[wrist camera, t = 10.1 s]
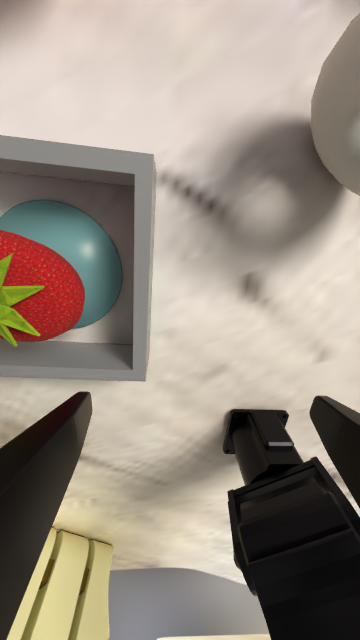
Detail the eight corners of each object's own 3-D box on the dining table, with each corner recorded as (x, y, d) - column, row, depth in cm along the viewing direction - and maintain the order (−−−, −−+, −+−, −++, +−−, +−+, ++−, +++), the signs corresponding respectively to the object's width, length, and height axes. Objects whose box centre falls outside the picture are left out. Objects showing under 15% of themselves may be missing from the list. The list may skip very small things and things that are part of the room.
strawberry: (18, 211, 16) (-196, 182, 6) (117, 260, 17) (61, 292, 8) (1, 284, 18) (-184, 342, 8) (92, 322, 19) (23, 406, 10)
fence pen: (148, 355, 21) (145, 381, 17) (-19, 347, 20) (-61, 374, 16) (156, 172, 16) (153, 154, 12) (-75, 145, 14) (-159, 115, 11)
